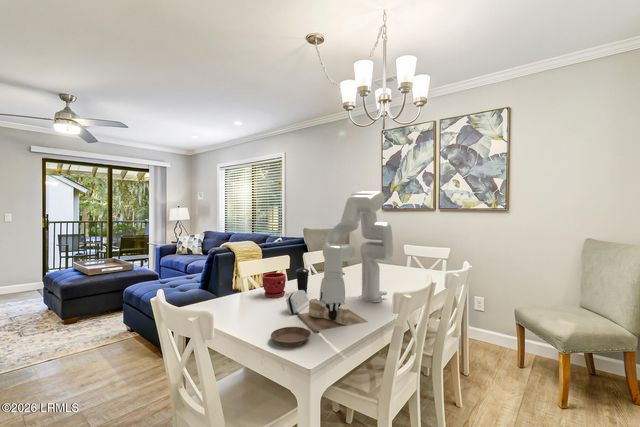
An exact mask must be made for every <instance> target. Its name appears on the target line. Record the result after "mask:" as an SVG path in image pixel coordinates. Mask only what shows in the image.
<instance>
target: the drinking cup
mask: <svg viewBox="0 0 640 427" xmlns="http://www.w3.org/2000/svg"><path fill="white" fill-rule="evenodd" d="M295 272H296V283H297V291H298V290H304V291H305V293H306V295H307V294H308V293H307V292H308V283H309V272H310V269H307V268H305V267H304V259H301V267H300V268H298V269H296V270H295Z"/></svg>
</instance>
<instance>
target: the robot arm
mask: <svg viewBox="0 0 640 427" xmlns="http://www.w3.org/2000/svg"><path fill="white" fill-rule="evenodd" d="M385 200H386V197H385V194H384V193H383V192H382V191H379V190H376V191H375V190H372V191H371V190H369V191H367V190H364V191H356V192H352V193H351V194H350V196H349V197H348V198H347V200H346V202H345V205H344V210H343V211H342V212H343V213H342V215H341V218H340V222H338V223H337V224H336V225H335V226H334V227H333V228H332V229H331V230H329V232H328V233H327V235H326V237H325V240H324V243H323V247H322V256H323V258H324V264H323V265H324V267H323V268H324V271H323V272H324V273H323V277H322V279H321V283H320V288H319V299H320V301H321V304H320V305H321V306H323V307H327V308H328V309H329V315H328V316H329V319H330V320H332V321H333V320H336V317H337V310H338V308H339V307H340V306H343V305H345V304H346V303H345V302H346V301H345V300H346V286H345V285H346V284H345V280H344V276H345V275H346V272H345V271H343V262H346V263H347V262H352V260H354V258H355V257H356V249H355V247H354V246H353V245H351V244H348V243H346V244H345V243H337V242H336V241H337V240H338V239H340V237H343V236H344V235H347V234H349V233H352V232H354V231H356V230H357V229H358V228H359V225H360V228H361V236H362V238H363V239H365V240H368V241H363V242H361V243H360V247H359V252H360V257H361V260H360V261H361V295H359V296H358V299H359V300H361V301H365V302H370V303H372V304H373V303H374V304H376V303H380V302H382V301H383V296H387V295H388V292H387V291H382V290H380V284H381V283H380V271H381V269H380V266H379V263H378V262H377V260H378V261H390V260H392V258H393V256H394V244H393V242H394V240H393V230H392V226H391V224H390V223H389V222H386V221H378V216H377V211H379V210H380V209H382V208H383V207H384V204H385ZM373 240H374V241H373ZM332 303H333V307H332Z"/></svg>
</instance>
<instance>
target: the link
mask: <svg viewBox="0 0 640 427" xmlns="http://www.w3.org/2000/svg"><path fill="white" fill-rule="evenodd" d="M315 299H316V298H311V299H310V300H309V301H310V302H309V306H308V313H309V315H310V316H312V317H317V318H326V319H329V316H328V315H329V309H328V308H327V307H323V306H321V305H320V304H321V301H320V303H319V302H315ZM332 307H333V304H332ZM349 310H350V308H348V307H345V306H342V305H340V307H339V308H338V310H337V317H336V320H333V321H335V322H337V323H340V324H343V325H344V324H348V319H349ZM329 320H330V319H329Z"/></svg>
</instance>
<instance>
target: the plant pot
mask: <svg viewBox="0 0 640 427" xmlns="http://www.w3.org/2000/svg"><path fill="white" fill-rule="evenodd" d="M261 276H262V278H261V280H262V287H263V290H264V296H265V297H268V298H270V299H271V298H274V299H275V298H280V297H283V296H285V294H286V290H285V288H286V281H287V277H286V276H287V274H286V273H283V272H270V273H265V274H262V275H261Z"/></svg>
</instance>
